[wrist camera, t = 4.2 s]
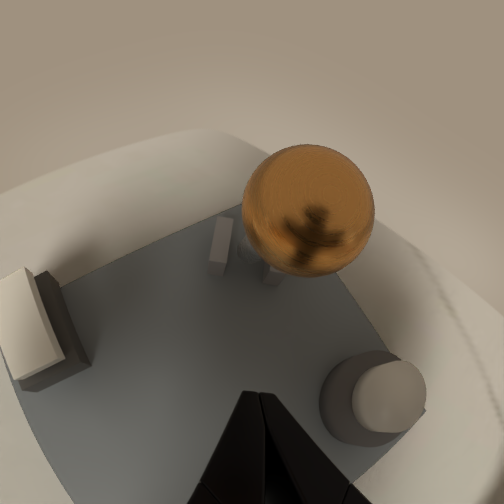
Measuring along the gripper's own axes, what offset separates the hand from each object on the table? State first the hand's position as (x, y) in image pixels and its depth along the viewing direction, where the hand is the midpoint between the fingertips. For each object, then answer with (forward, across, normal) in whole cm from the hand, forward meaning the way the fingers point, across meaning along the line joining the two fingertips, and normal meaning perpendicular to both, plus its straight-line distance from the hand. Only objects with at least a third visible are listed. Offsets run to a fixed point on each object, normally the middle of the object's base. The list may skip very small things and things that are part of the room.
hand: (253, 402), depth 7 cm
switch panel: (+6, +1, +5) cm, 8 cm away
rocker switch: (+4, +9, +2) cm, 10 cm away
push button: (+4, -7, +3) cm, 8 cm away
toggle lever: (+9, 0, -1) cm, 9 cm away
